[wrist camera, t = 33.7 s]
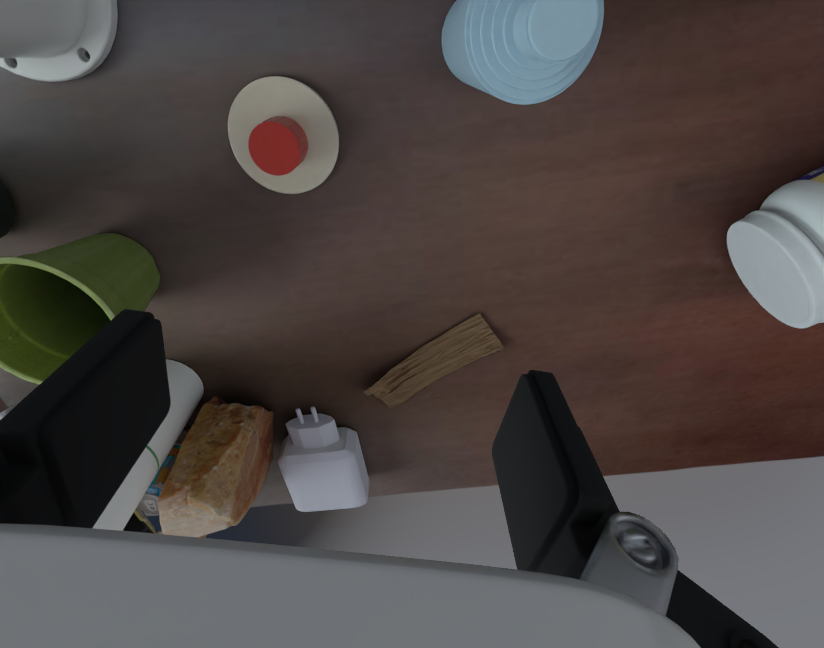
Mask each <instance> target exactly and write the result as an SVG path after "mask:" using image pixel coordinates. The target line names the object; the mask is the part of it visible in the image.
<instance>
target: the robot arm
mask: <svg viewBox="0 0 824 648" xmlns="http://www.w3.org/2000/svg"><path fill="white" fill-rule="evenodd" d="M117 21H118V10H117V0H0V66H1V67H3V68H5V69H7V70H9V71H11V72H13V73H15V74H17V75H20V76H24V77H27V78H30V79H33V80H40V81H47V82H59V81H69V80H74V79H79V78H81V77H83V76H85V75H87V74H89V73H91V72H93V71H94V70H95V69H96V68H97V67H98V66H100V65H101V64H102V63H103V62H104V60H105V58H106V57H107V55H108V54H109V52H110V51H111V48H112V45H113V42H114V39H115V36H116V30H117ZM88 53H89V54H90V57H89V55H88ZM170 404H171V399H170V391H169V383H168V375H167V367H166V359H165V351H164V343H163V334H162V326H161V322H160V321H159V320H157V319H154V316H153V314H152V313H150V312H143V311H137V310H130V309H124V310H122V311H121V312H120V313H119V314H118V315H116V316H115V317H114V318H113V319H112V320H111V321H110V322H109V323H108V324H106V325H105V326H104V327H103V328H102V329H101V330H100V331H99V332H98V333H96V334H95V335H94V336H93V337H92V338H91V339H90V340H89V341H88V342H86V343H85V344H84V345H83V346H82V347H81V348H80V349H79V350H78V351H76V352H75V353H74V354H73V355H72V356H71V357H70V358H69V359H68V360H66V361H65V362H64V363H63V364H62V365H61V366H60V367H59V368H58V369H56V370H55V371H54V372H53V373H52V374H51V375H50V376H49V377H48V378H46V379H45V380H44V381H43V382H42V383H41V384H40V385H39V386H38V387H36V388H35V389H34V390H33V391H32V392H31V393H30V394H29V395H28V396H26V397H25V398H24V399H23V400H22V401H21V402H20V403H19V404H18V405H16V406H15V407H14V408H13V409H12V410H11V411H10V412H9V413H8V414H6V415H5V416H4V417H3V418H2V419H1V420H0V648H778V647H777V646H776V645H775V644H773V643H772V642H771V641H770V640H769V639H768V638H767V637H766V636H764V635H763V634H762V633H760V632H759V631H758V630H756V629H755V628H754V627H753V626H751V625H750V624H749V623H747V622H746V621H744V620H743V619H742V618H741V617H739V616H738V615H736V614H735V613H734V612H733V611H731V610H730V609H729V608H727V607H726V606H724V605H723V604H722V603H721V602H719V601H718V600H717V599H716V598H714V597H713V596H712V595H710V594H709V593H707V592H706V591H705V590H704V589H702V588H701V587H700V586H698V585H697V584H696V583H694V582H693V581H692V580H690V579H689V578H688V577H686V576H685V575H684V574H683V573H681V572H680V571H679V570H678V556H677V553H676V550H675V548H674V546H673V545H672V543H671V542H670V540H669V538H668V537H667V536H666V535H665V534H664V533H663V532H662V531H661V529H660V528H658V527H657V526H656V525H654V524H653V523H652V522H651V521H649V520H647V519H645V518H644V517H642V516H640V515H637V514H634V513H630V512H619V510H618V507H617V505H616V503H615V501H614V499H613V497H612V495H611V493H610V490H609V488H608V486H607V484H606V482H605V480H604V478H603V476H602V473H601V471H600V469H599V467H598V465H597V463H596V461H595V459H594V456H593V454H592V452H591V450H590V448H589V446H588V444H587V442H586V440H585V437H584V435H583V433H582V431H581V430H580V428H579V427H578V426H577V424H576V422H575V420H574V417H573V415H572V413H571V411H570V409H569V407H568V405H567V402H566V400H565V398H564V396H563V394H562V392H561V390H560V387H559V385H558V383H557V381H556V379H555V377H554V375H553V374H552V373H549V372H542V371H536V370H530V371H529V372H528V374H527V375H526V374H523V375H522V376H521V377H520V379H519V382H518V384H517V387H516V389H515V391H514V394H513V396H512V399H511V401H510V404H509V406H508V409H507V411H506V413H505V416H504V418H503V421H502V423H501V426H500V428H499V431H498V433H497V435H496V438H495V440H494V443H493V447H492V456H493V461H494V465H495V470H496V474H497V479H498V484H499V488H500V493H501V497H502V502H503V506H504V511H505V515H506V520H507V524H508V529H509V534H510V538H511V542H512V547H513V552H514V557H515V561H516V566H517V570H515V569H507V568H497V567H490V566H482V565H473V564H463V563H453V562H442V561H433V560H424V559H414V558H404V557H394V556H385V555H375V554H365V553H354V552H344V551H334V550H323V549H314V548H302V547H293V546H282V545H272V544H261V543H251V542H240V541H230V540H219V539H208V538H197V537H186V536H175V535H164V534H153V533H142V532H131V531H120V530H106V529H93V526H94V525H95V523H96V522H97V520H98V519H99V517H100V516H101V514H102V513H103V511H104V510H105V508H106V507H107V505H108V504H109V502H110V501H111V499H112V498H113V496H114V495H115V493H116V492H117V490H118V489H119V487H120V486H121V484H122V483H123V481H124V480H125V478H126V477H127V475H128V473H129V472H130V470H131V469H132V467H133V466H134V464H135V463H136V461H137V460H138V458H139V457H140V455H141V454H142V452H143V451H144V449H145V448H146V446H147V445H148V443H149V442H150V440H151V439H152V437H153V436H154V434H155V433H156V431H157V430H158V428H159V427H160V425H161V424H162V422H163V421H164V419H165V418H166V416H167V414H168V412H169V409H170Z"/></svg>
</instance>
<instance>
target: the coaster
mask: <svg viewBox="0 0 824 648" xmlns="http://www.w3.org/2000/svg"><path fill="white" fill-rule="evenodd" d="M278 116H285V117H288V118H291V119H293V120H294V121H296V122H297V123H298V124H299V125H300V126H301V127H302V128H303V130H304V132H305V133H306V136H307V140H308V151H307V154H306V156H305V158H304V160H303V161H302V162H301V163H300V164H299V166H297V167H296V168H295V169H294V170H293V171H291V172H290V173H288V174H286V175H281V176H276V175H271V174H268V173H266V172H264V171H263V170H261V169H260V168H259V167H258V166H257V165H256V164H255V163H254V161H253V160H252V158H251V155H250V153H249V148H248V141H249V136H250V134H251V132H252V130H253V129H254V128H255V127H256V126H257V125H259V124H261V123H263V121H265V120H267V119H269V118H271V117H272V118H274V117H278ZM228 136H229V141H230V145H231V148H232V151H233V153H234V155H235V157H236V159H237V161H238V162H239V164H240V165H241V167H242V168H243V169H244V171H245V172H246V173H247V174H248V175H249V176H250V177H251V178H252V179H254V180H255V181H256V182H258V183H259V184H261V185H262V186H264V187H266V188H268V189H270V190H273V191H276V192H280V193H286V194H298V193H303V192H307V191H309V190H312V189H314V188H316V187H317V186H319V185H320V184H321V183H322V182H324V181H325V180H326V178H327V177H328V176H329V175H330V173H331V172H332V170H333V168H334V166H335V164H336V161H337V158H338V154H339V144H340V140H339V132H338V127H337V124H336V121H335V118H334V116H333V114H332V111H331V110H330V108H329V106H328V105H327V103H326V102H325V101H324V100H323V98H322V97H321V96H320V95H319V94H318V93H317V92H316V91H314V90H313V89H312V88H311V87H309V86H308V85H306V84H304V83H303V82H300V81H298V80H296V79H293V78H289V77H284V76H269V77H263V78H260V79H257V80H255V81H253V82H251V83H249V84H248V85H247V86H245V87H244V88H243V89H242V90H241V91H240V92H239V93H238V95H237V96H236V98H235V99H234V101H233V104H232V106H231V109H230V112H229V117H228Z"/></svg>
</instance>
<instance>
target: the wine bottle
mask: <svg viewBox="0 0 824 648" xmlns="http://www.w3.org/2000/svg"><path fill="white" fill-rule="evenodd" d="M13 223H14V206H13V203H12V201H11V198H10V196H9V193H8V191H7V190H6V189H5V187H4V186H3V185H2V183H1V182H0V238H1V237H3V236H4V235H6V234H7V233H8V232H9V230H10V228H11V226H12V225H13Z"/></svg>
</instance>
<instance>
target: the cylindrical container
mask: <svg viewBox="0 0 824 648" xmlns="http://www.w3.org/2000/svg"><path fill="white" fill-rule="evenodd" d="M166 367H167V375H168V383H169V391H170V399H171V404H170V409H169V412H168V414H167V416H166V418H165V419H164V421H163V422H162V424H161V425H160V427H159V428H158V430H157V431H156V433H155V434H154V436H153V437H152V439H151V440H150V442H149V443H148V445H147V446H146V448H145V449H144V451H143V452H142V454H141V455H140V457H139V458H138V460H137V461H136V463H135V464H134V466H133V467H132V469H131V470H130V472H129V473H128V475H127V477H126V478H125V480H124V481H123V483H122V484H121V486H120V487H119V489H118V490H117V492H116V493H115V495H114V496H113V498H112V499H111V501H110V502H109V504H108V505H107V507H106V508H105V510H104V511H103V513H102V514H101V516H100V517H99V519H98V520H97V522H96V523H95V525H94V526H93V529H106V530H120V531H123V529H124V527H125V526H126V524H127V522H128V521H129V519H130V517H131V516H132V514H133V512H134V511H135V509H136V507H137V506H138V504H139V502H140V501H141V499H142V497H143V496H144V494H145V492H146V491H147V489H148V487H149V486H150V484H151V482H152V481H153V479H154V477H155V475H156V474H157V472H158V470H159V469H160V467H161V465H162V464H163V462H164V460H165V459H166V457H167V455H168V454H169V452H170V450H171V449H172V447H173V445H174V444H175V442H176V440H177V439H178V437H179V435H180V433H181V432H182V430H183V428H184V427H185V425H186V423H187V422H188V420H189V418H190V417H191V415H192V413H193V412H194V410H195V408H196V407H197V405H198V403H199V402H200V400H201V398H202V397H203V393H204V387H203V383H202V381H201V379H200V378H199V376H198V375H197V374H196V373H195V372H194V371H193V370H192V369H191V368H189V367H188V366H186V365H184V364H182V363H180V362H177V361H174V360H168V359H166Z"/></svg>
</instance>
